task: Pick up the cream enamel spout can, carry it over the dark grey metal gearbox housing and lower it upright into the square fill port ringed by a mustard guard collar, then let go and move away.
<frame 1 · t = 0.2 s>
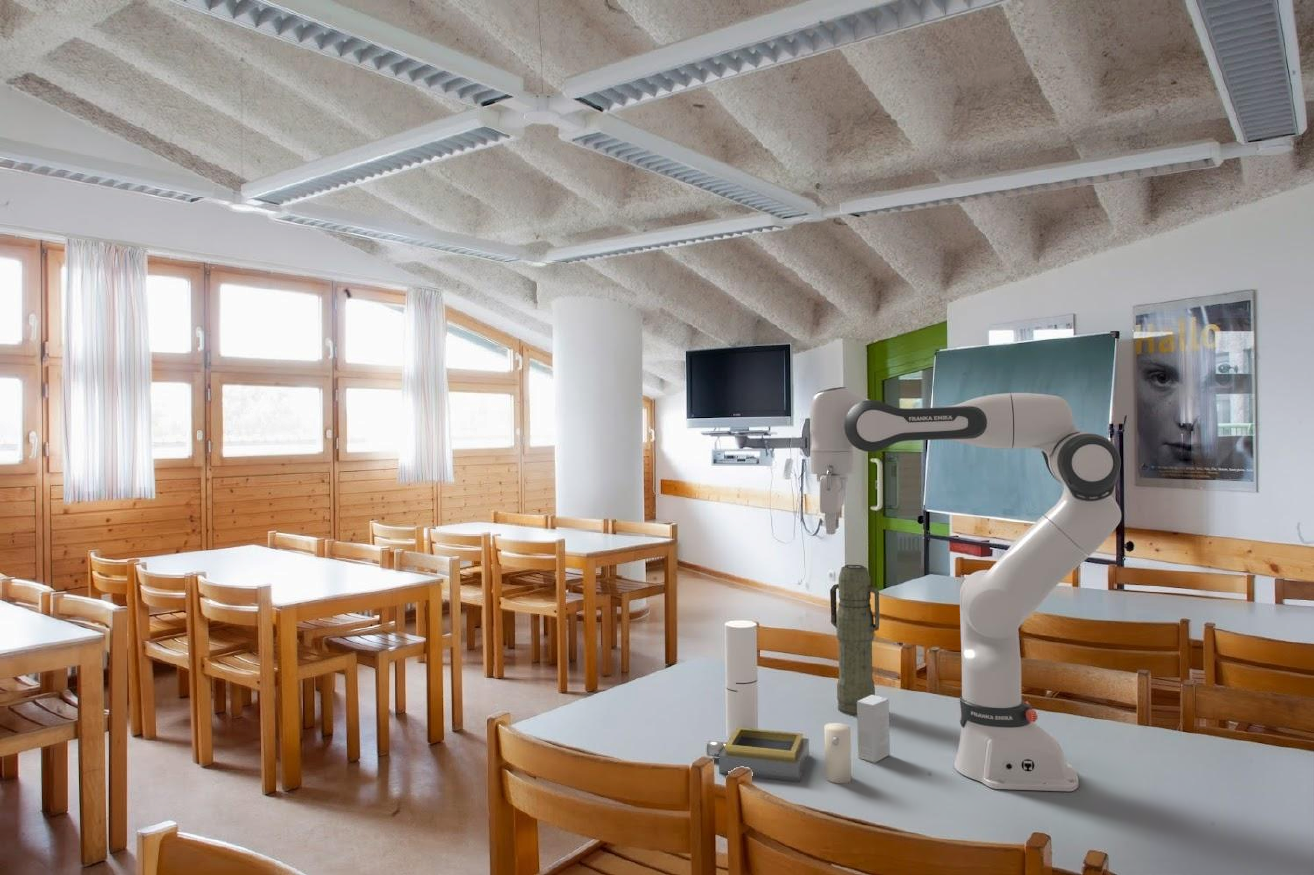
hand: (832, 531, 177), 47 cm above the table, tool pointing down, fingers open, 8 cm apart
gearbox: (765, 763, 174), on the table
skincare box: (873, 757, 177), on the table
cylindrical container: (742, 735, 190), on the table
spout can: (838, 778, 166), on the table
thermos: (855, 710, 206), on the table
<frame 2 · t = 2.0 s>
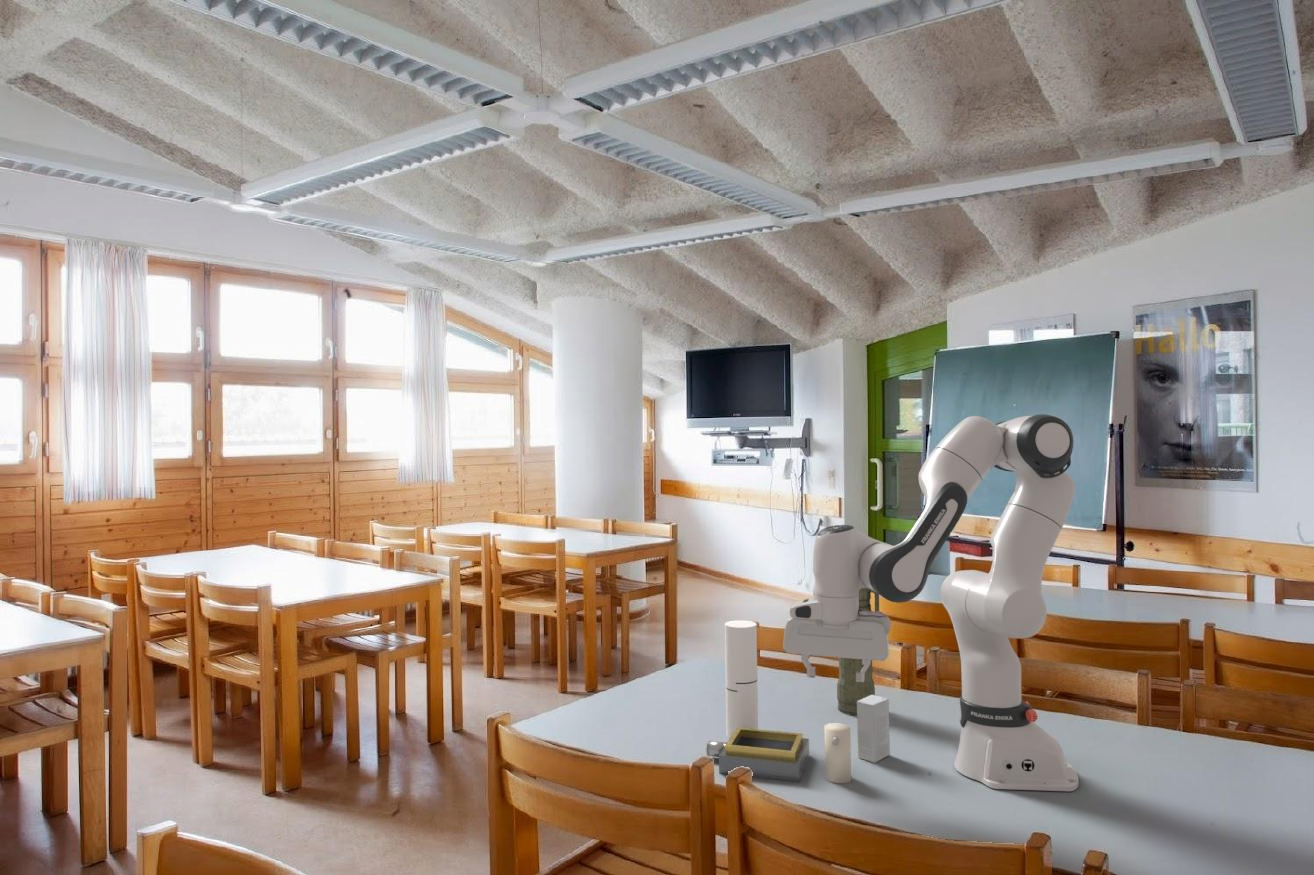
hand: (835, 678, 166), 20 cm above the table, tool pointing down, fingers open, 8 cm apart
nothing on the table moved.
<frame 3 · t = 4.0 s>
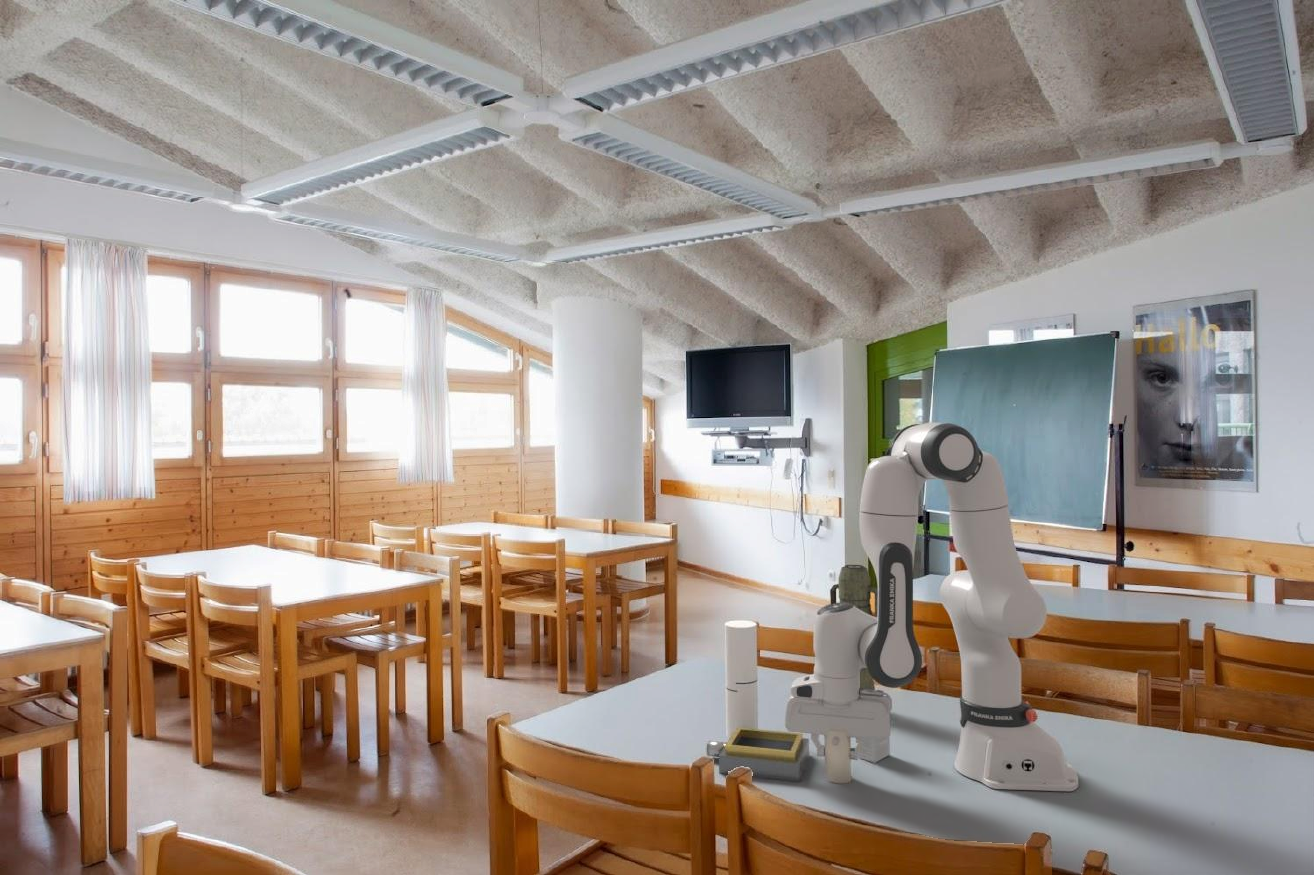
hand: (837, 757, 166), 4 cm above the table, tool pointing down, fingers closed on spout can, 5 cm apart
spout can: (838, 778, 166), on the table, touching gripper
everything else where it was.
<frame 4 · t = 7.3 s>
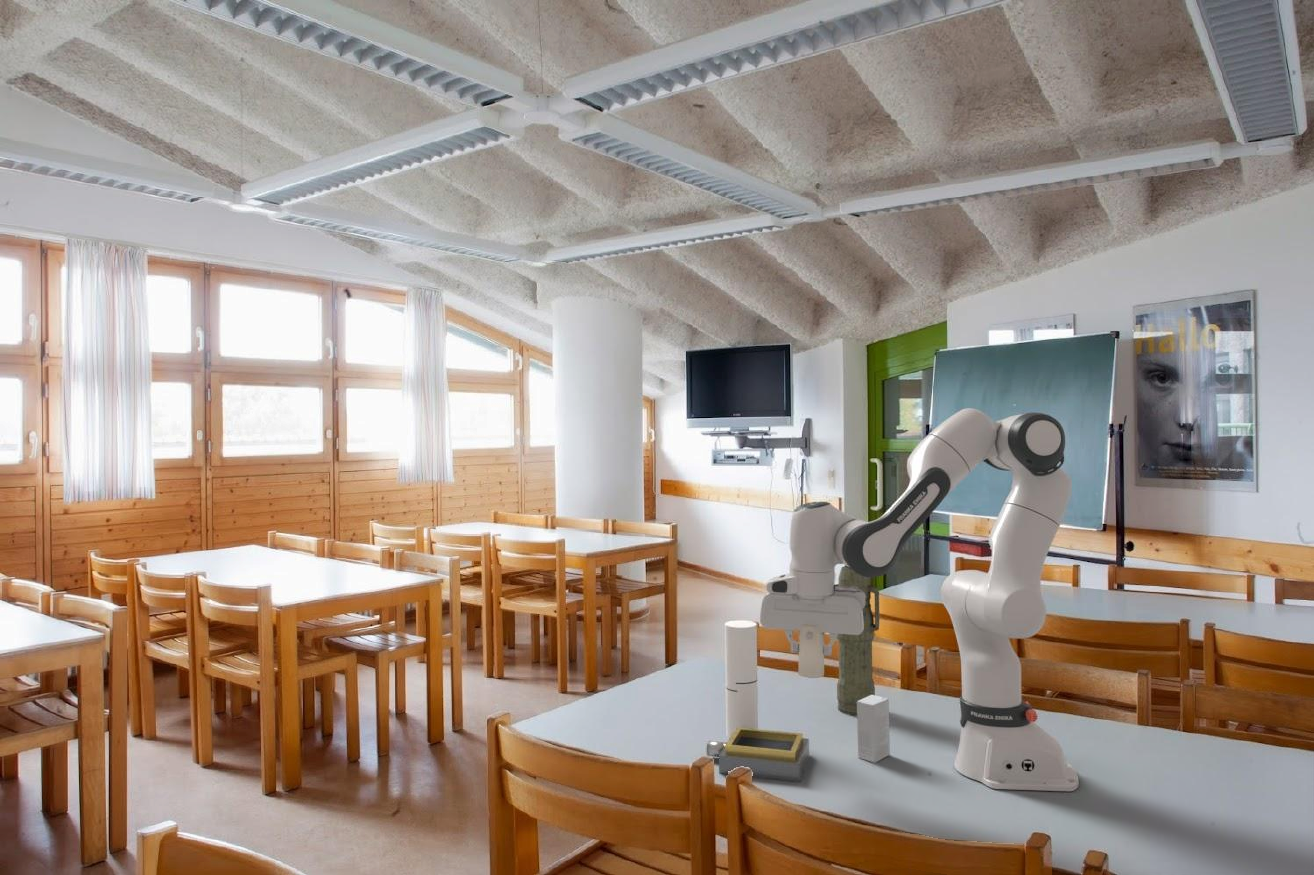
hand: (811, 653, 168), 24 cm above the table, tool pointing down, fingers closed on spout can, 5 cm apart
spout can: (811, 674, 168), point 20 cm above the table, touching gripper
everything else where it was.
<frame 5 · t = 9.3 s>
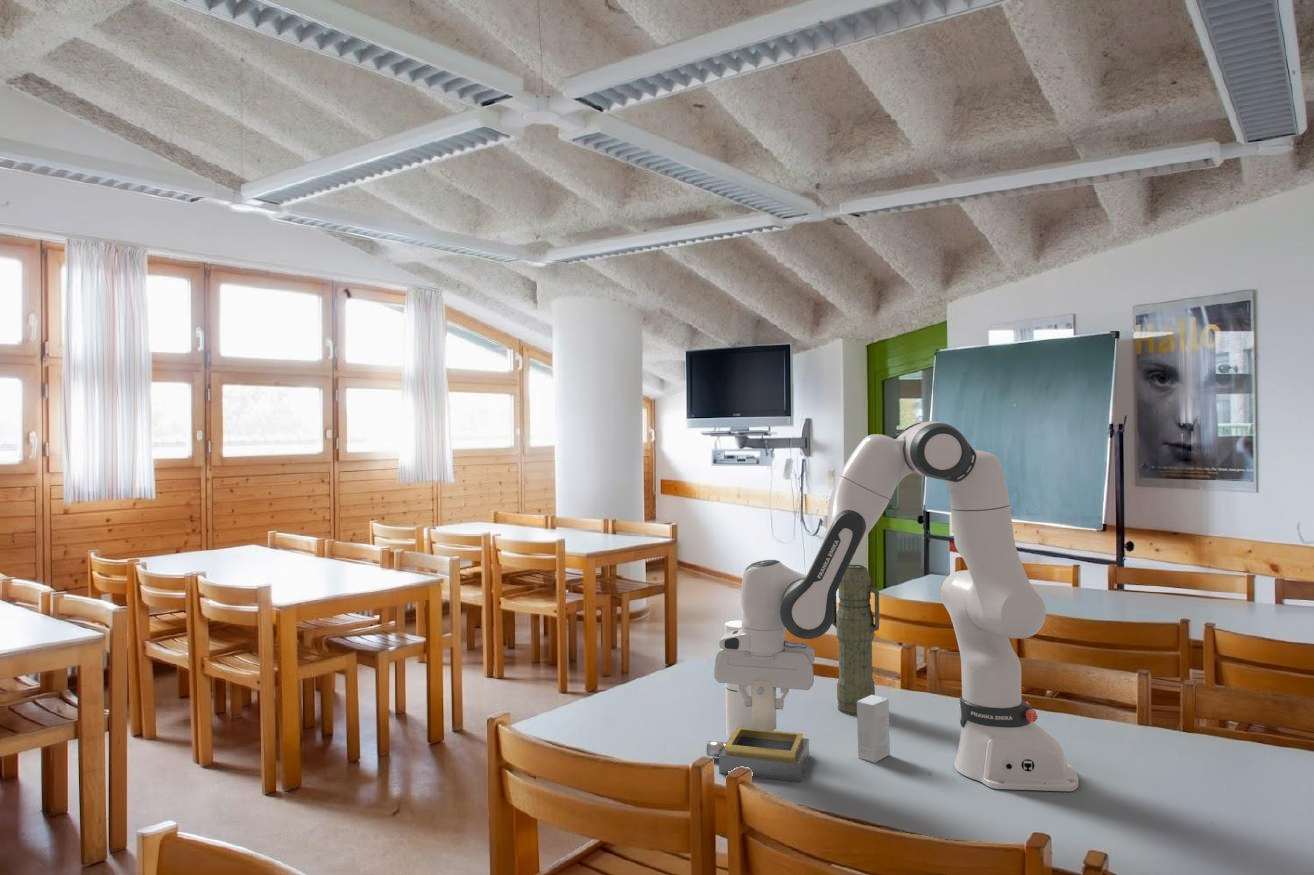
hand: (763, 707, 174), 12 cm above the table, tool pointing down, fingers closed on spout can, 5 cm apart
spout can: (764, 727, 174), point 8 cm above the table, touching gripper
everything else where it was.
when the fingers open (6 cm above the table, at t = 11.2 s): spout can drops 1 cm, resting in gearbox.
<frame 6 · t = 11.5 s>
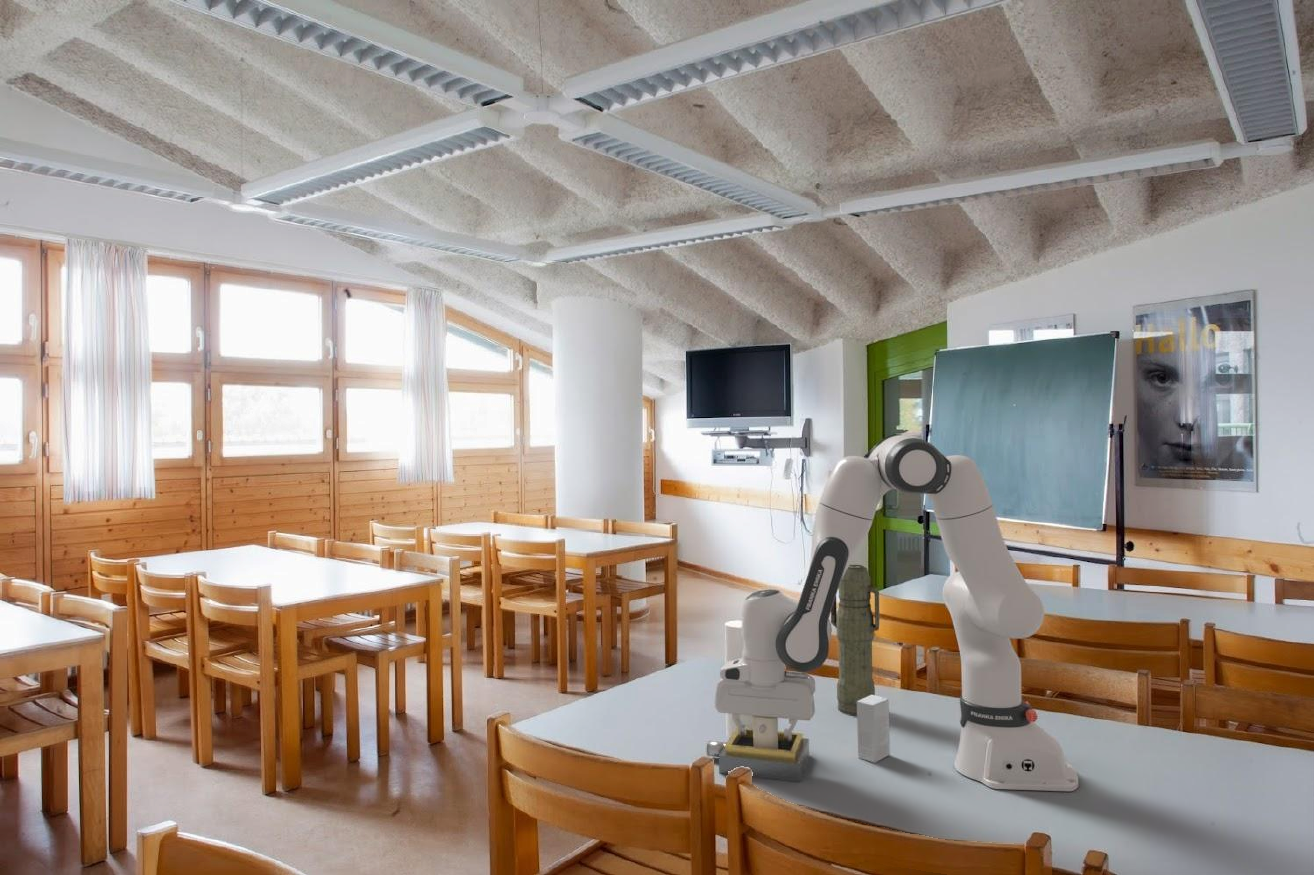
hand: (764, 736, 174), 6 cm above the table, tool pointing down, fingers open, 8 cm apart
spout can: (766, 764, 174), resting in gearbox
everything else where it was.
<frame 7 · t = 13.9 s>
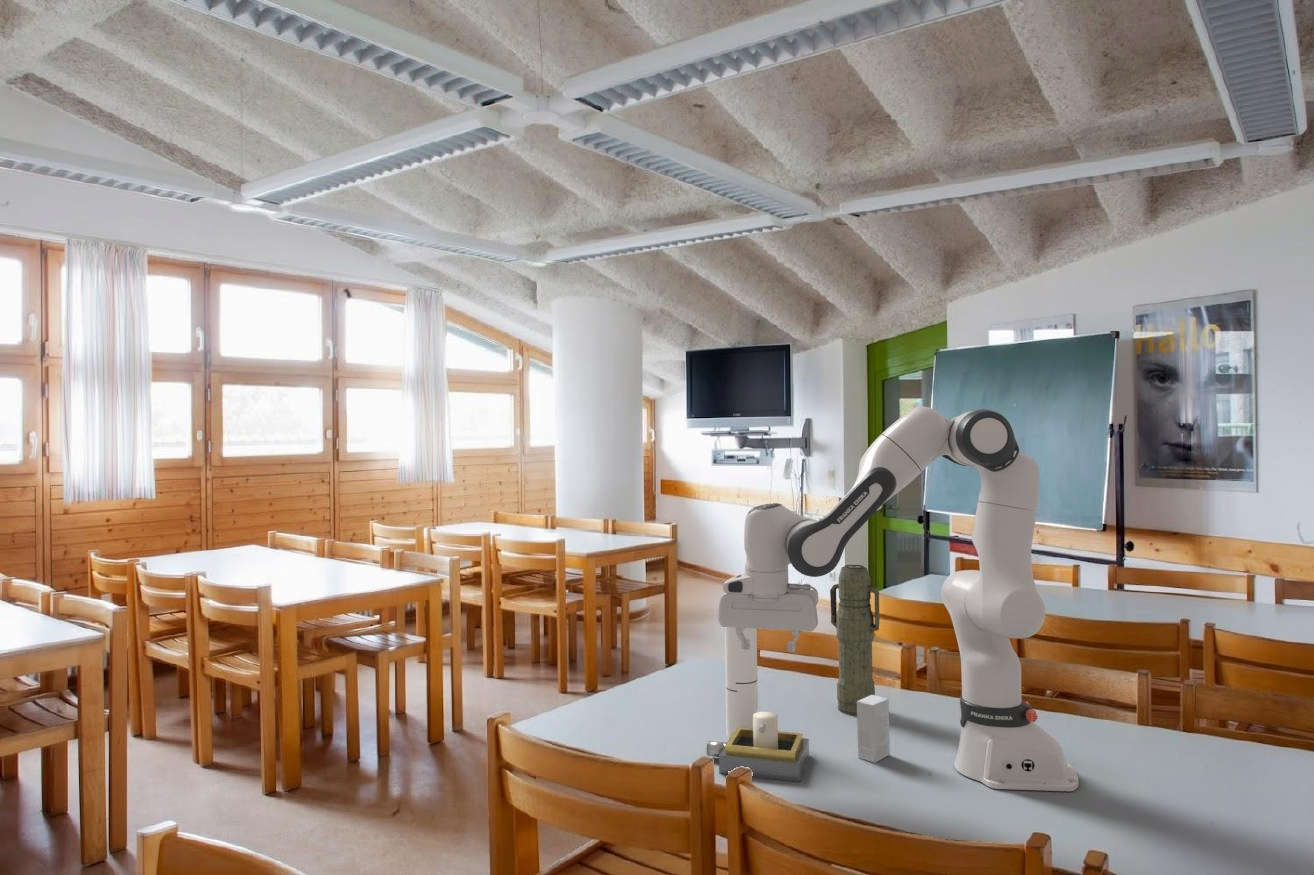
hand: (768, 649, 174), 23 cm above the table, tool pointing down, fingers open, 8 cm apart
nothing on the table moved.
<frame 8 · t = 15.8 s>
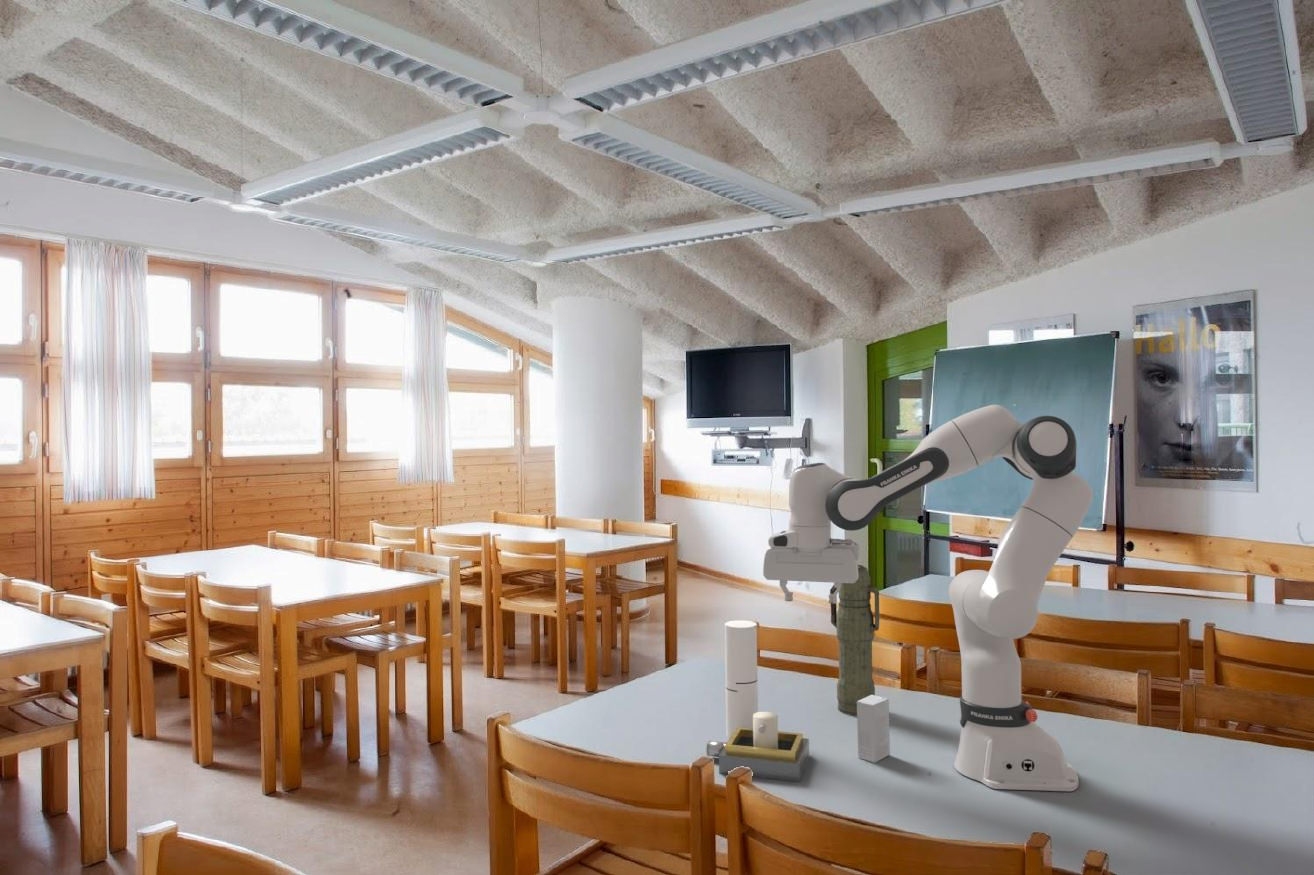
hand: (810, 601, 183), 31 cm above the table, tool pointing down, fingers open, 8 cm apart
nothing on the table moved.
at the end: spout can 0.2 cm off-centre on the gearbox, point 0.0 cm above the gearbox's base; spout can tilted 0°; the gripper is holding nothing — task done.
